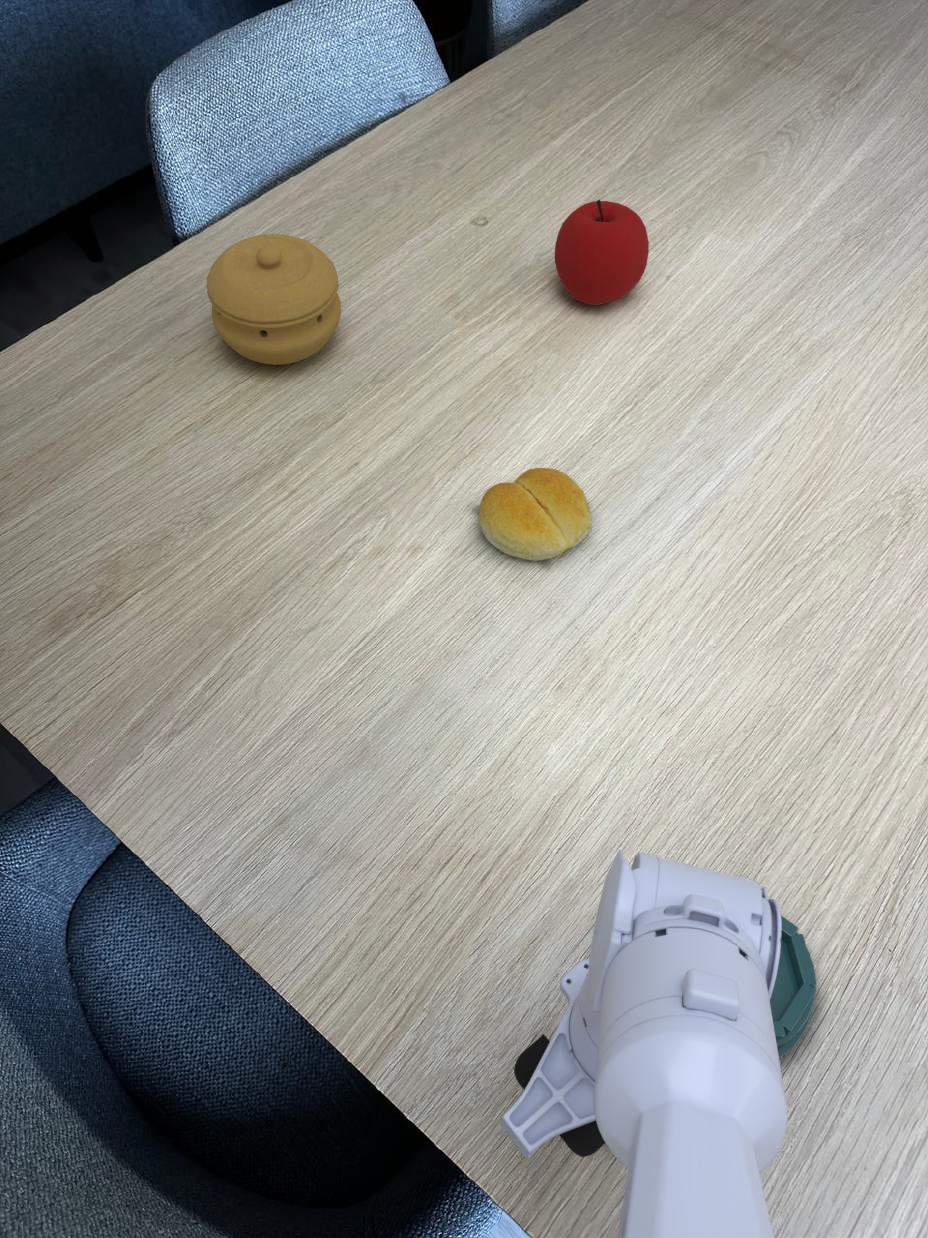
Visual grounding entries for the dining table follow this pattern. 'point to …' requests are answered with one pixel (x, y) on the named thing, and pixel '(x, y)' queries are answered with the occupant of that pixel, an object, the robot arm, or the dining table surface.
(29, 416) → the dining table surface
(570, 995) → the robot arm
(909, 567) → the dining table surface
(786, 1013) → the stand
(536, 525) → the bread roll
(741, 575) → the dining table surface
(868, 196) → the dining table surface
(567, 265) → the apple
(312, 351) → the pot
